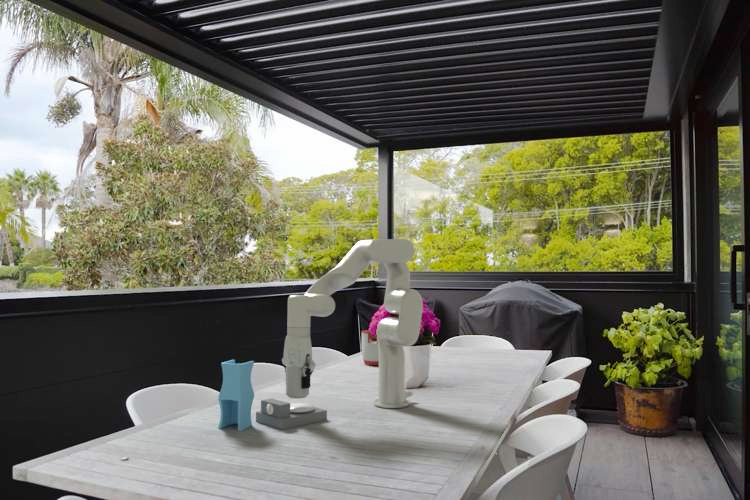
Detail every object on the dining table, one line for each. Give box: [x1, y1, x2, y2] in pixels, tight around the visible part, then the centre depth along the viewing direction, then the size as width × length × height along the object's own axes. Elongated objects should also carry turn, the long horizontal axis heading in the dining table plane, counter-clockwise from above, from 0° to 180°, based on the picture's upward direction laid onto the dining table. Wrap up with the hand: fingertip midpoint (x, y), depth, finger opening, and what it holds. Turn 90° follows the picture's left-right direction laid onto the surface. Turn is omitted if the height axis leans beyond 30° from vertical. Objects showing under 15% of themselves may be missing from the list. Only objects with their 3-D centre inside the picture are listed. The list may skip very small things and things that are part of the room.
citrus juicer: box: [360, 329, 379, 366], centre depth 313 cm, size 16×17×20 cm
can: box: [285, 361, 310, 399], centre depth 199 cm, size 8×8×12 cm
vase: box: [217, 359, 255, 432], centre depth 189 cm, size 8×8×20 cm
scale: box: [255, 398, 328, 430], centre depth 197 cm, size 18×14×7 cm
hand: (297, 386), depth 199 cm, fingers closed on can, 7 cm apart
